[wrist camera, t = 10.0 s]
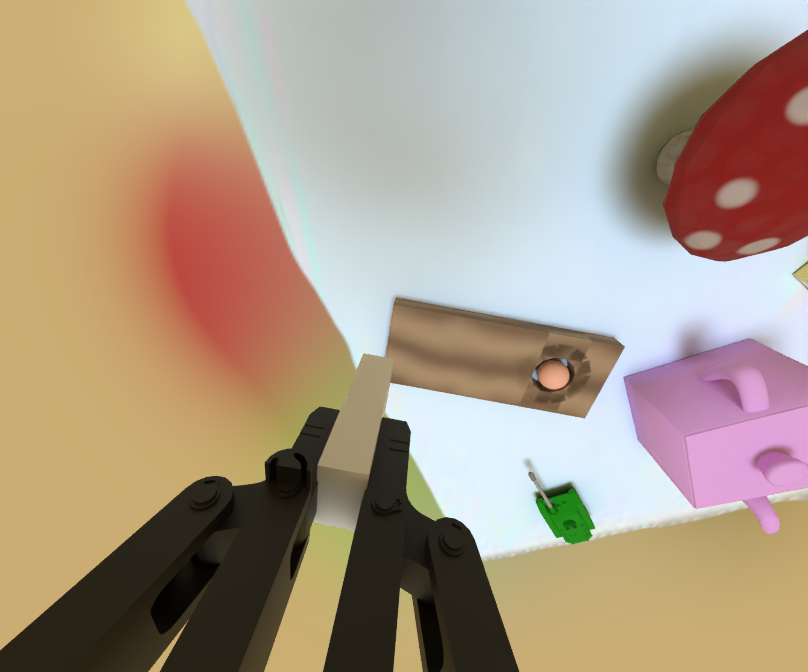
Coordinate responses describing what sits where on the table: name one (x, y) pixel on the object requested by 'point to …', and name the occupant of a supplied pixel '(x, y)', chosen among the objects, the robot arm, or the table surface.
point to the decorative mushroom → (744, 164)
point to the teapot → (727, 425)
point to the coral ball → (553, 374)
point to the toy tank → (565, 515)
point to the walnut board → (496, 357)
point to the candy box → (802, 275)
